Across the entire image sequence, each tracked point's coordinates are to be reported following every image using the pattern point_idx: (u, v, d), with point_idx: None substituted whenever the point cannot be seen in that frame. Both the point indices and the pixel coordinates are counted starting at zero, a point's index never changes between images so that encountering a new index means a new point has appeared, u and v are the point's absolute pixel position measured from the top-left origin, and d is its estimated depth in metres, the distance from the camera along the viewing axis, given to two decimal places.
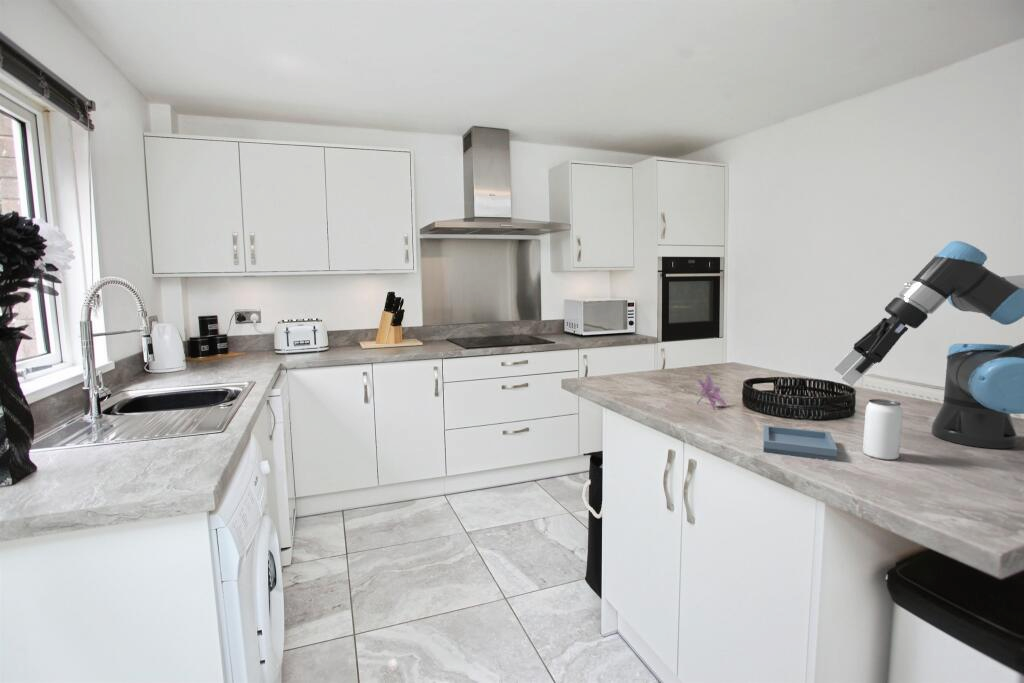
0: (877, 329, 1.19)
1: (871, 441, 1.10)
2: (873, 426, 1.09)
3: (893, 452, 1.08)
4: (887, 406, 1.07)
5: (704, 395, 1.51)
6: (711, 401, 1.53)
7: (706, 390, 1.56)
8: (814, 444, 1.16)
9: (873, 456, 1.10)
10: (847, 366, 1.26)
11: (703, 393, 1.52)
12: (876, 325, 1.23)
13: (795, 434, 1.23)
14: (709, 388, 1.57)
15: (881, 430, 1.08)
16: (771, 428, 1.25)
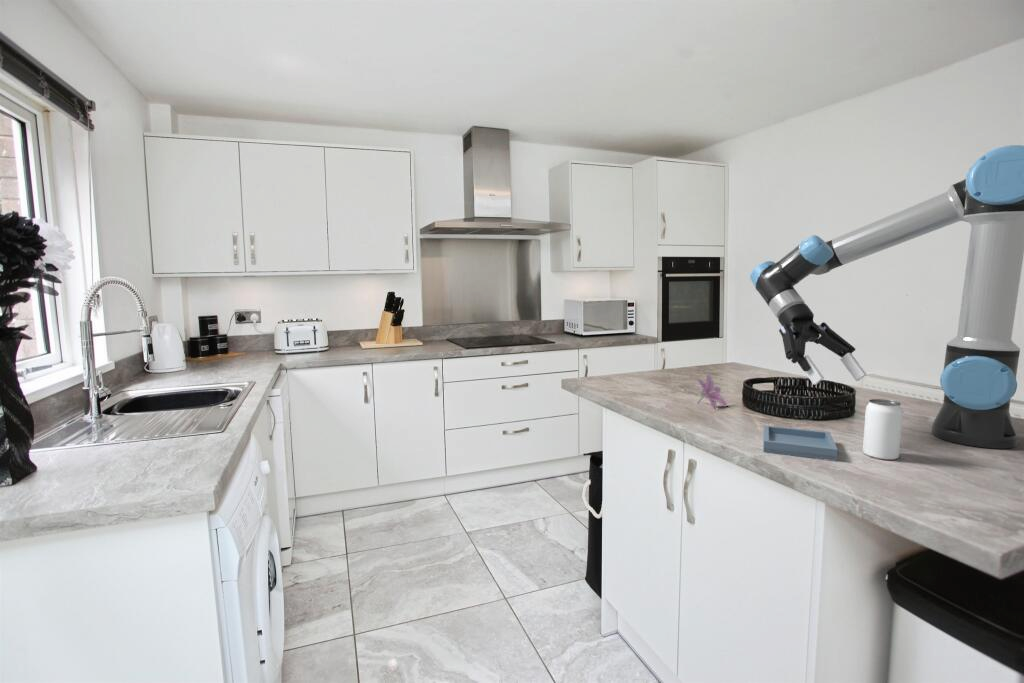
0: None
1: (871, 441, 1.10)
2: (873, 426, 1.09)
3: (893, 452, 1.08)
4: (887, 406, 1.07)
5: (705, 395, 1.51)
6: (712, 401, 1.53)
7: (707, 390, 1.56)
8: (814, 444, 1.16)
9: (873, 456, 1.10)
10: (855, 368, 1.22)
11: (704, 393, 1.52)
12: None
13: (795, 434, 1.23)
14: (710, 388, 1.57)
15: (881, 430, 1.08)
16: (771, 428, 1.25)
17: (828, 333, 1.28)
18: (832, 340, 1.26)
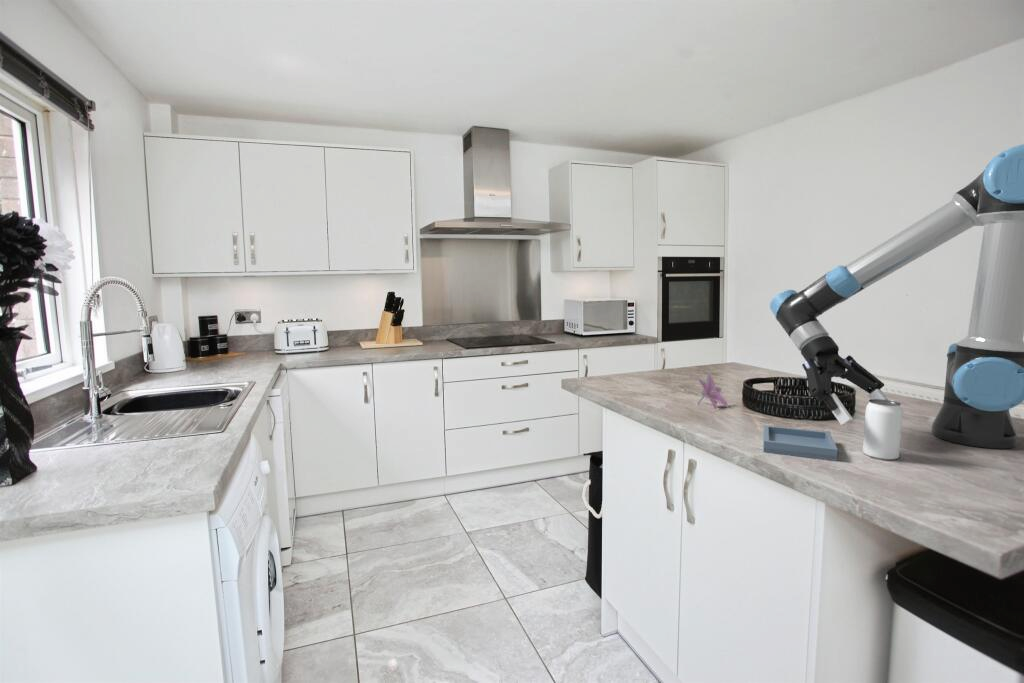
0: None
1: (871, 441, 1.10)
2: (873, 426, 1.09)
3: (893, 452, 1.08)
4: (887, 406, 1.07)
5: (705, 395, 1.51)
6: (712, 401, 1.53)
7: (707, 390, 1.56)
8: (814, 444, 1.16)
9: (873, 456, 1.10)
10: None
11: (704, 393, 1.51)
12: None
13: (795, 434, 1.23)
14: (711, 388, 1.57)
15: (881, 430, 1.08)
16: (771, 428, 1.25)
17: (854, 367, 1.22)
18: (859, 375, 1.19)
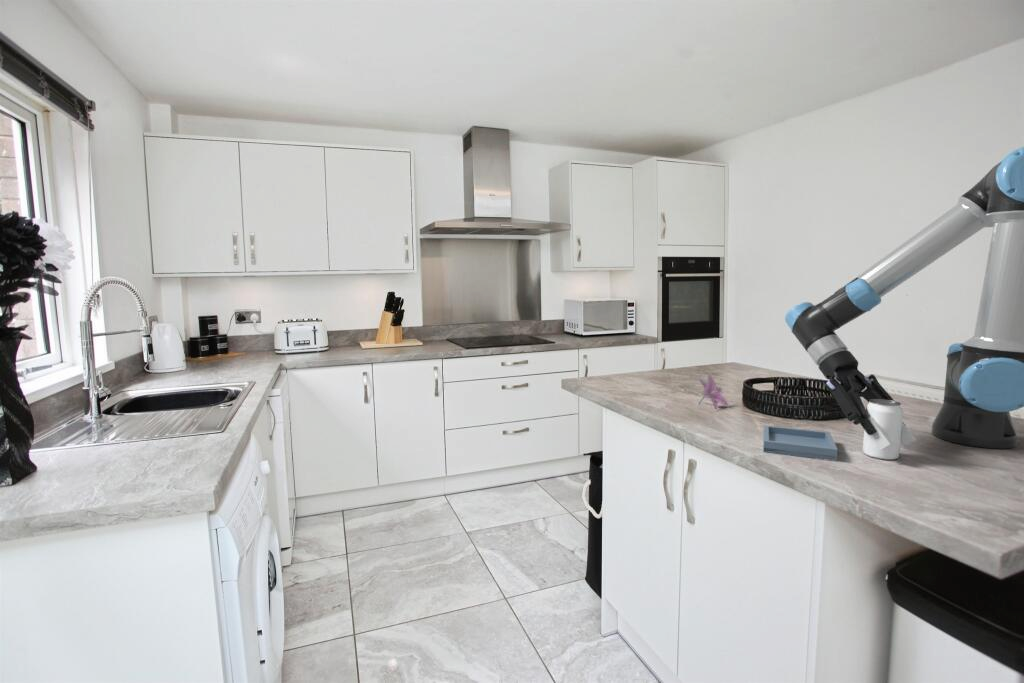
0: None
1: (871, 441, 1.10)
2: None
3: (893, 452, 1.08)
4: (887, 406, 1.07)
5: (706, 395, 1.51)
6: (713, 401, 1.53)
7: (708, 390, 1.56)
8: (814, 444, 1.16)
9: (873, 456, 1.10)
10: (903, 432, 1.10)
11: (705, 393, 1.51)
12: None
13: (795, 434, 1.23)
14: (711, 388, 1.56)
15: None
16: (771, 428, 1.25)
17: (874, 386, 1.17)
18: (877, 395, 1.14)
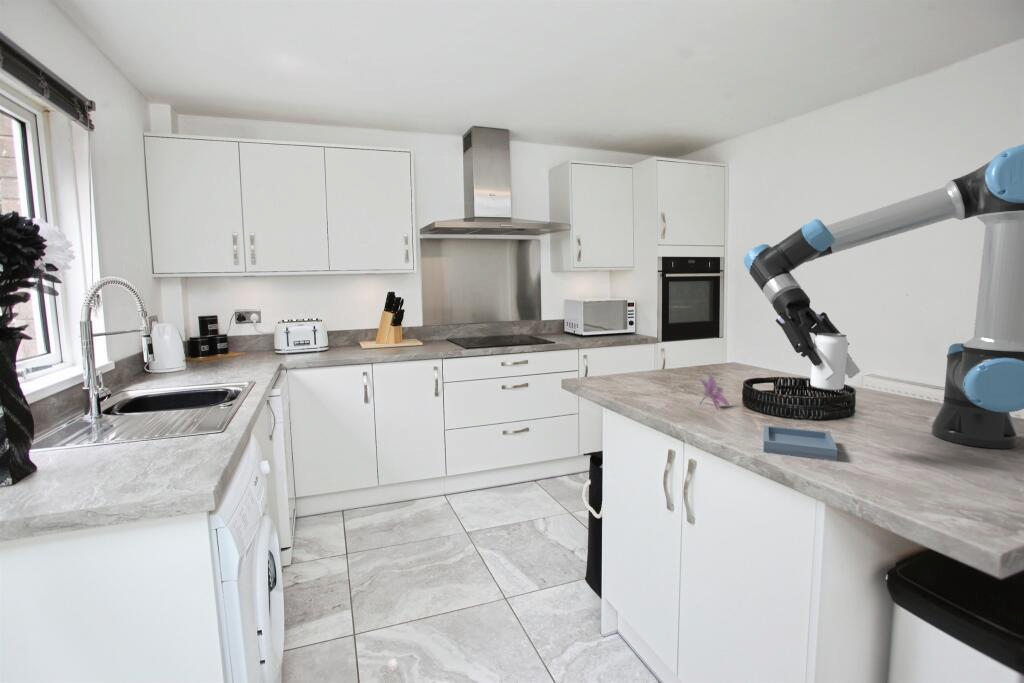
0: None
1: (817, 372, 1.12)
2: None
3: (837, 383, 1.11)
4: (833, 337, 1.10)
5: (707, 395, 1.51)
6: (714, 401, 1.53)
7: (709, 390, 1.56)
8: (814, 444, 1.16)
9: (819, 387, 1.12)
10: (848, 364, 1.12)
11: (706, 393, 1.51)
12: None
13: (795, 434, 1.23)
14: (712, 388, 1.56)
15: None
16: (771, 428, 1.25)
17: (825, 323, 1.20)
18: (826, 330, 1.17)
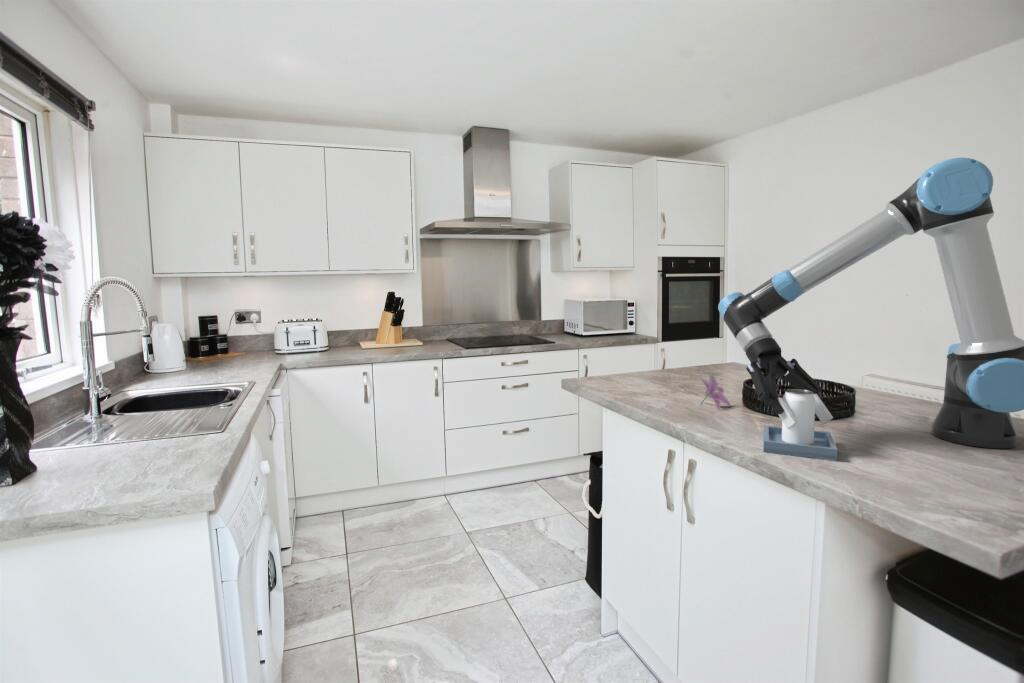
0: None
1: None
2: None
3: (806, 439, 1.14)
4: (800, 395, 1.14)
5: (709, 395, 1.51)
6: (716, 401, 1.53)
7: (710, 390, 1.56)
8: (814, 444, 1.16)
9: None
10: (822, 411, 1.16)
11: (708, 393, 1.51)
12: None
13: None
14: (713, 388, 1.56)
15: (795, 417, 1.14)
16: (771, 428, 1.25)
17: (796, 370, 1.23)
18: (799, 378, 1.21)
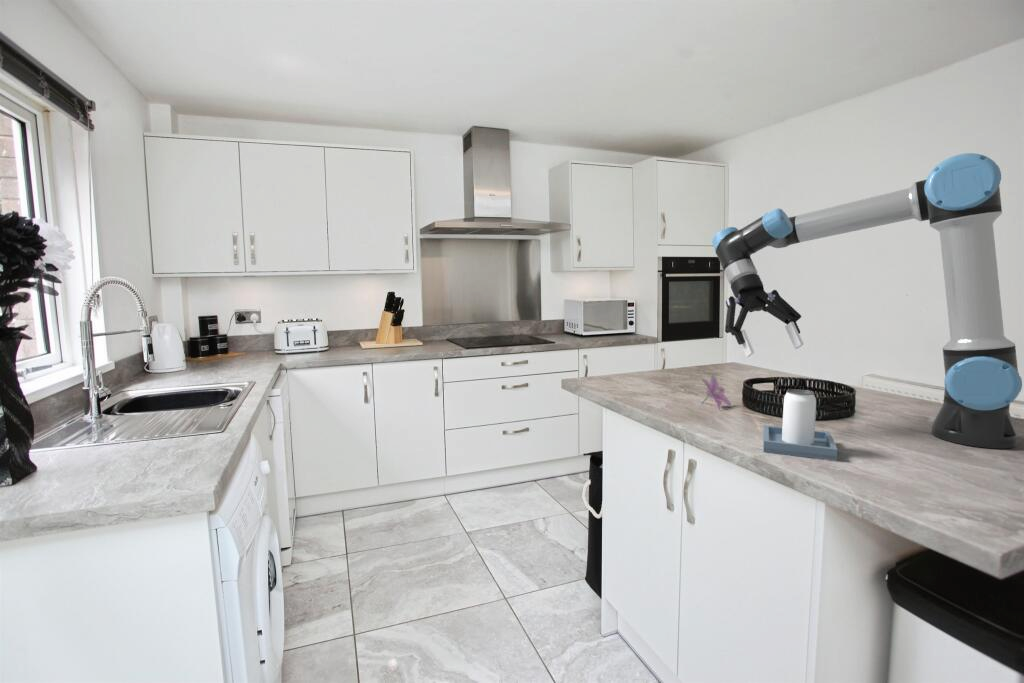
0: None
1: (787, 428, 1.16)
2: (788, 414, 1.15)
3: (806, 439, 1.14)
4: (801, 395, 1.13)
5: (710, 395, 1.51)
6: (717, 401, 1.53)
7: (711, 390, 1.56)
8: (814, 444, 1.16)
9: None
10: (795, 337, 1.30)
11: (709, 393, 1.51)
12: None
13: None
14: (714, 388, 1.56)
15: (796, 418, 1.14)
16: (771, 428, 1.25)
17: (777, 301, 1.35)
18: (777, 309, 1.33)
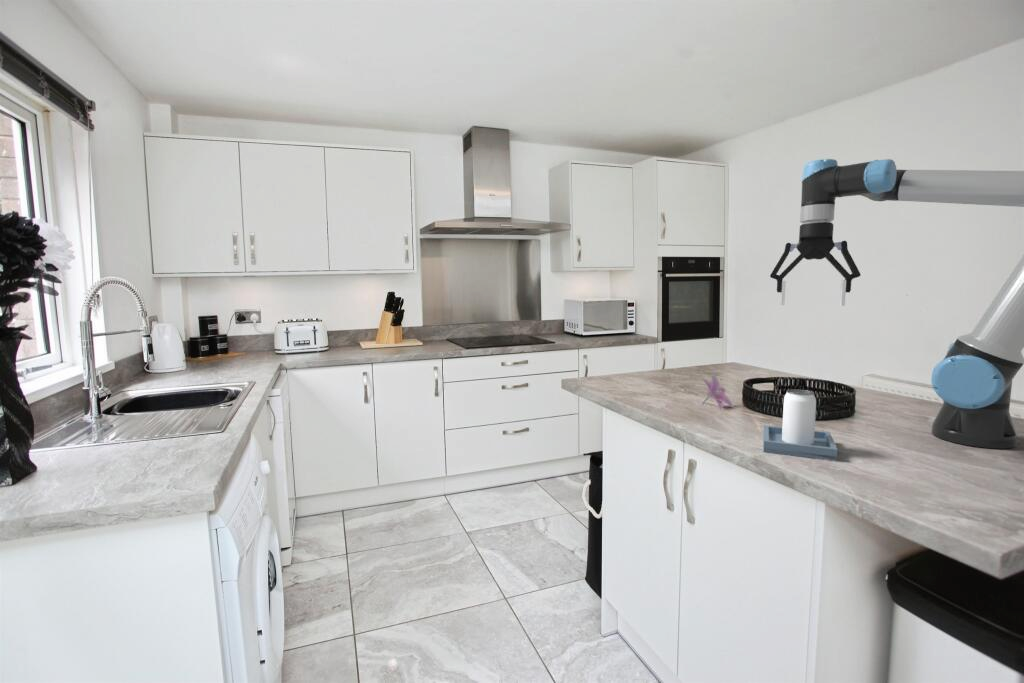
0: None
1: (787, 428, 1.16)
2: (788, 414, 1.15)
3: (806, 439, 1.14)
4: (801, 395, 1.13)
5: (711, 395, 1.51)
6: (718, 401, 1.53)
7: (712, 390, 1.56)
8: (814, 444, 1.16)
9: None
10: (841, 296, 1.30)
11: (710, 393, 1.51)
12: None
13: None
14: (715, 388, 1.56)
15: (795, 418, 1.14)
16: (771, 428, 1.25)
17: (842, 253, 1.29)
18: (835, 264, 1.29)
